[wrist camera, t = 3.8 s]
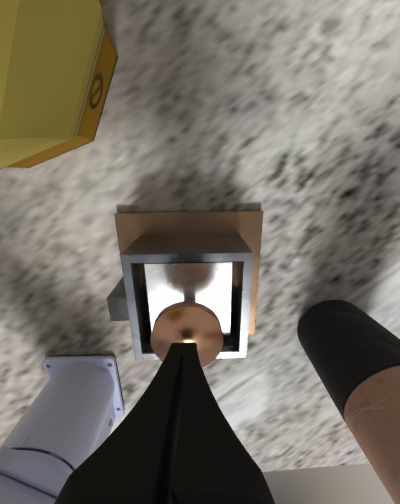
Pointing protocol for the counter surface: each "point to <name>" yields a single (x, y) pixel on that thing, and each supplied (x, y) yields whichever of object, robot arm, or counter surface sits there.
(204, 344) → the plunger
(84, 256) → the counter surface
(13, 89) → the container
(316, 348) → the travel mug
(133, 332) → the knob box on board
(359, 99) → the counter surface
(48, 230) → the counter surface
